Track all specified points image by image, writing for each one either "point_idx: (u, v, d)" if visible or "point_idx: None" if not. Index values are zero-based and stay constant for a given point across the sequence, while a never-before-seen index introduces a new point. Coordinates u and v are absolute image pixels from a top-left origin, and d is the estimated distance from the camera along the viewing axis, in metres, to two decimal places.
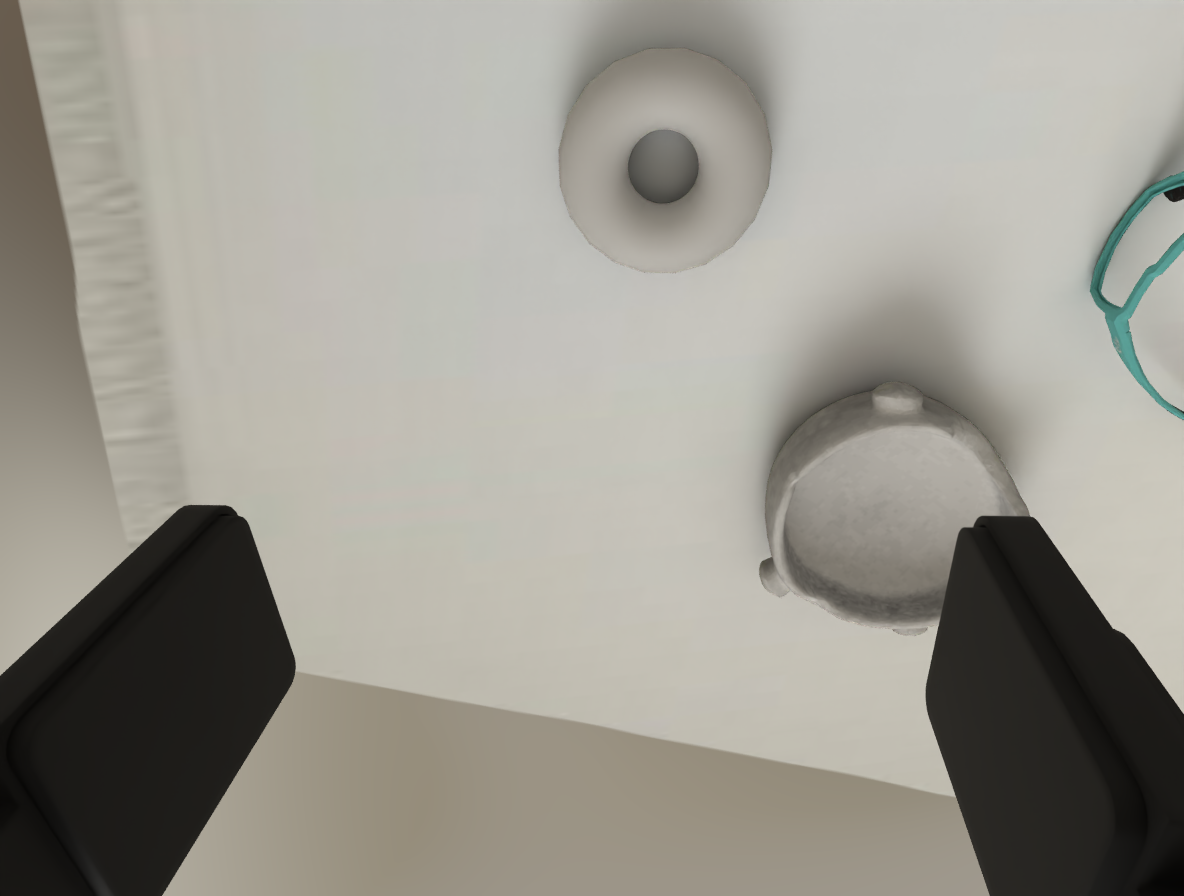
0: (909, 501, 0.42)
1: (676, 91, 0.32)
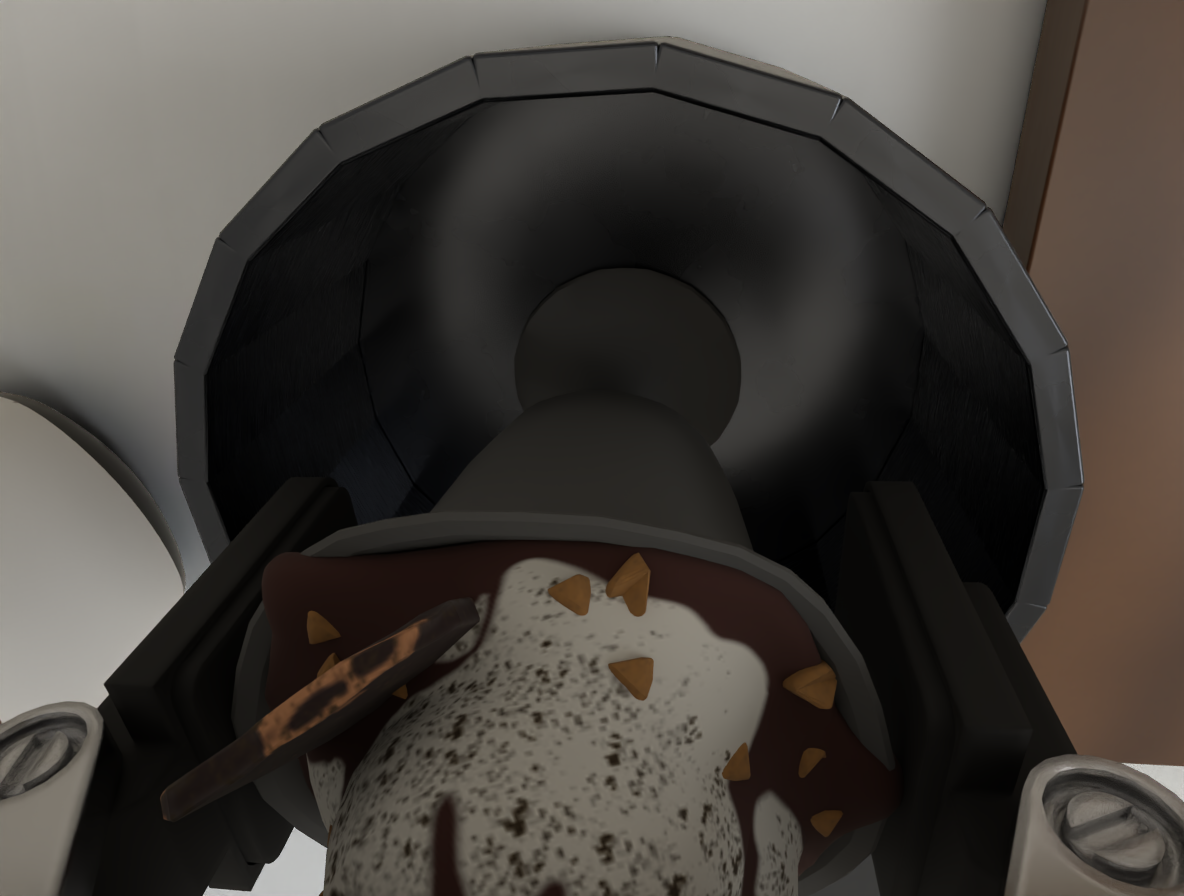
0: None
1: None
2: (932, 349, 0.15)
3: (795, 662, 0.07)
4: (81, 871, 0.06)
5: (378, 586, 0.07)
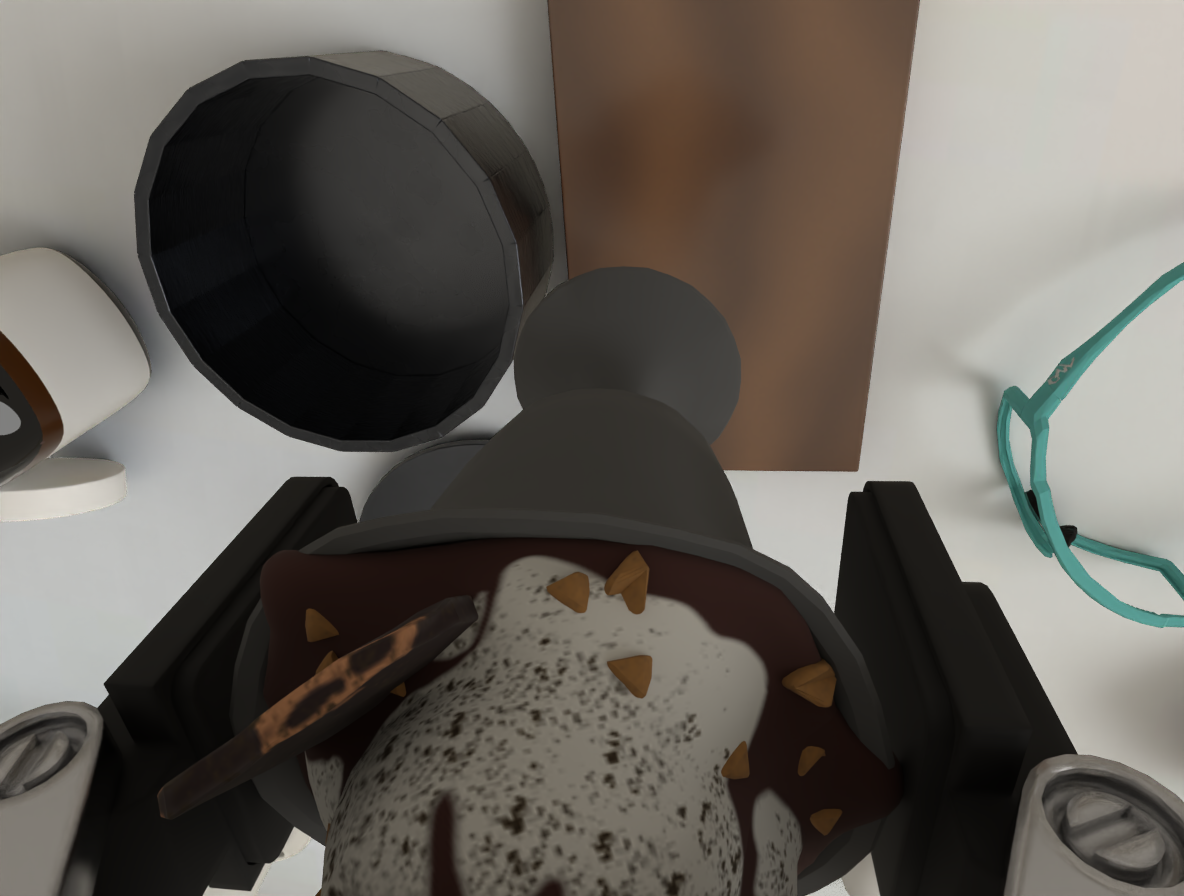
0: None
1: (876, 883, 0.41)
2: None
3: (794, 660, 0.07)
4: (81, 871, 0.06)
5: (376, 584, 0.07)
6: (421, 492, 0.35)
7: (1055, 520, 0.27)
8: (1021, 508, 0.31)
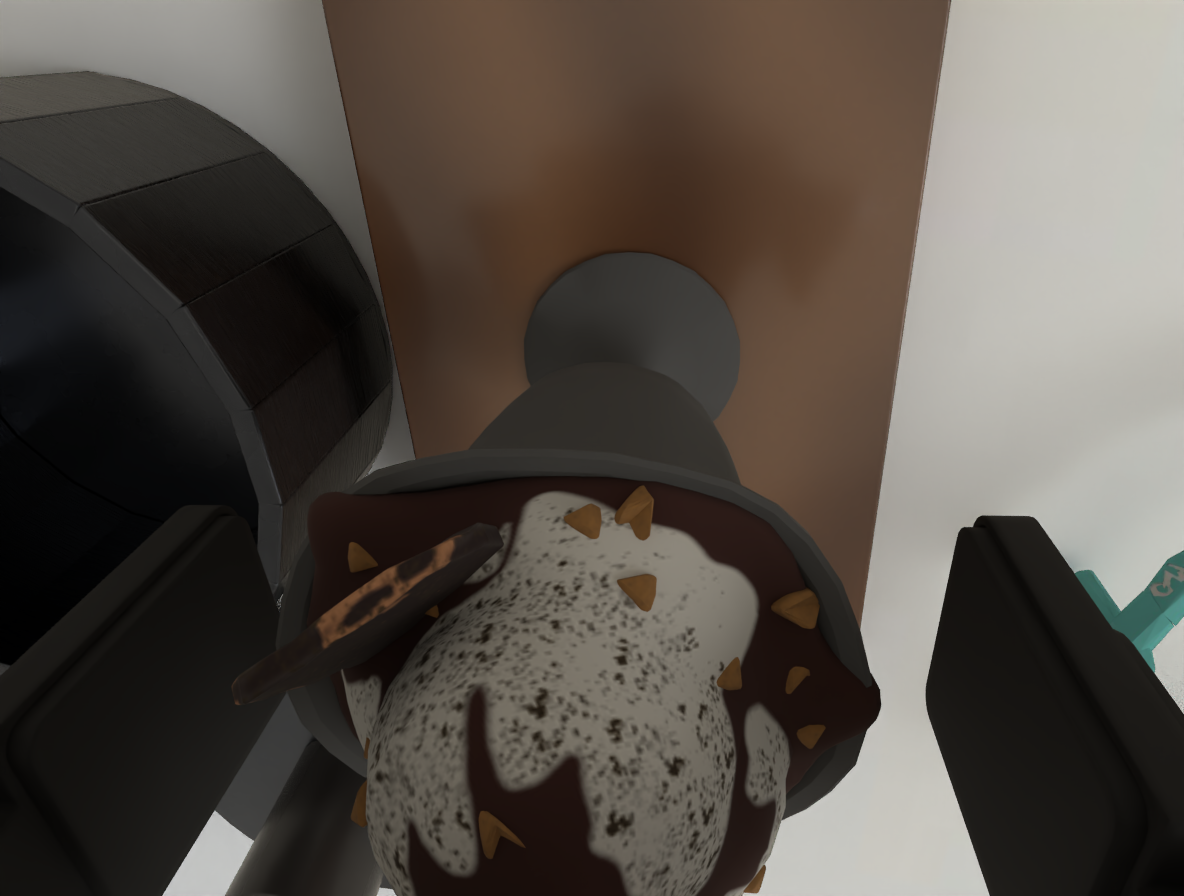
0: None
1: None
2: None
3: (782, 587, 0.07)
4: None
5: (412, 519, 0.07)
6: None
7: None
8: None
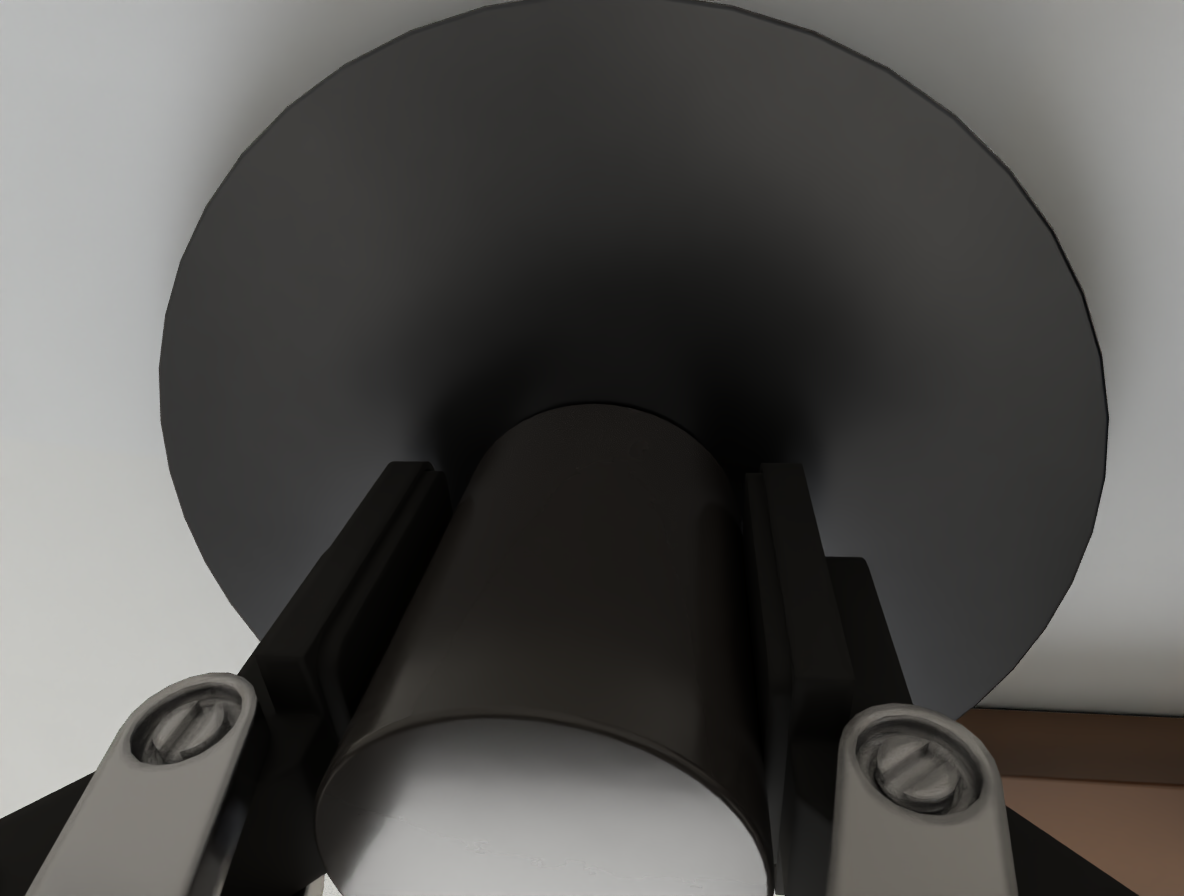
0: None
1: None
2: None
3: None
4: (219, 856, 0.06)
5: None
6: (936, 333, 0.09)
7: None
8: None
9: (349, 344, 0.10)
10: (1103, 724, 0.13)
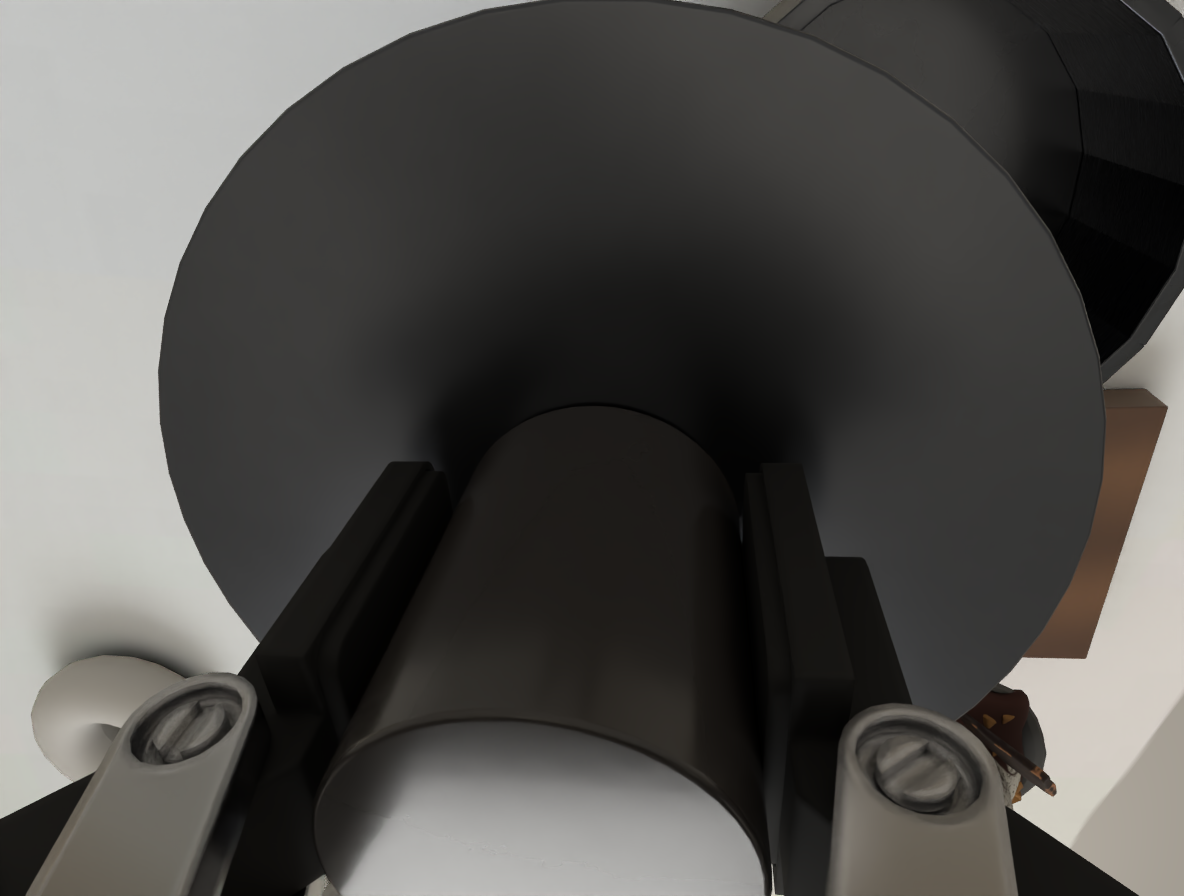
0: None
1: (97, 714, 0.37)
2: None
3: None
4: (217, 856, 0.06)
5: (1018, 732, 0.20)
6: (934, 335, 0.09)
7: None
8: None
9: (348, 346, 0.11)
10: None
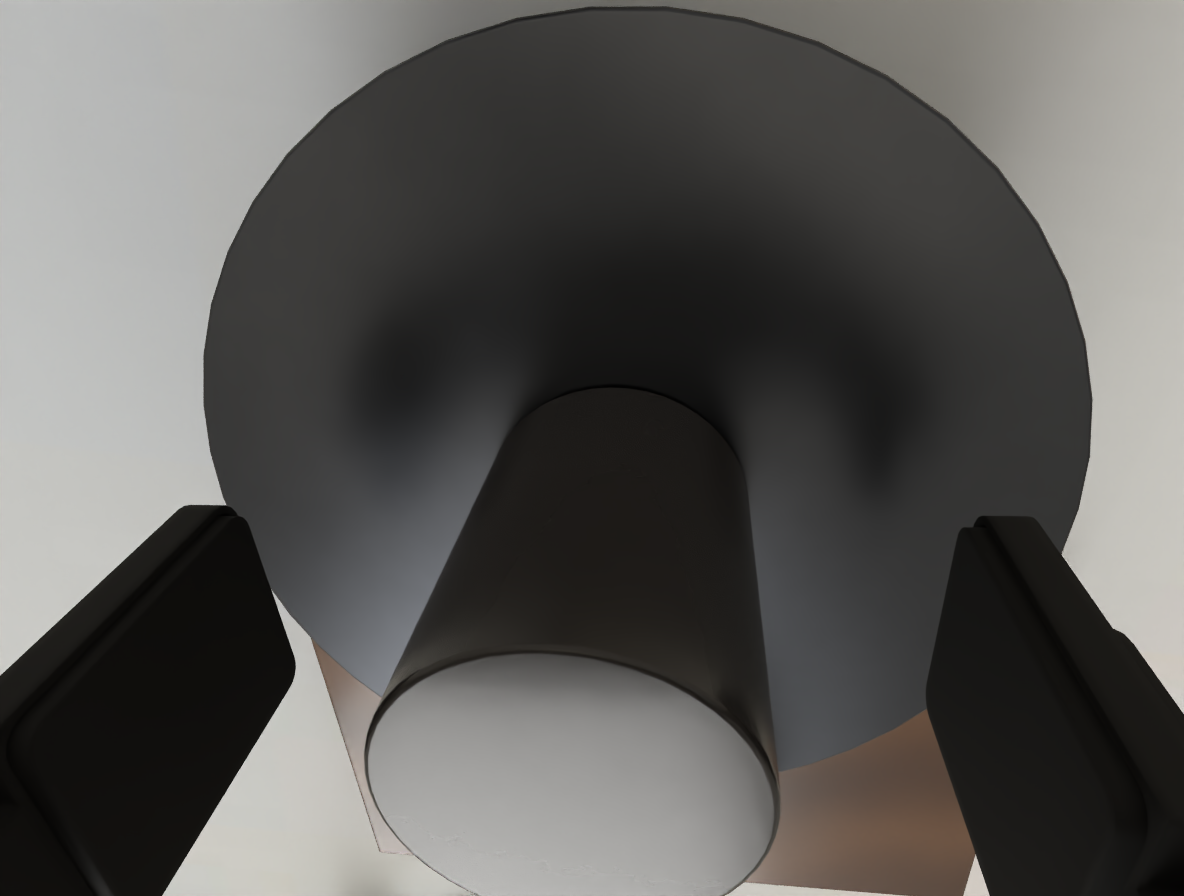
0: None
1: None
2: None
3: None
4: None
5: None
6: (930, 321, 0.10)
7: None
8: None
9: (383, 331, 0.11)
10: None
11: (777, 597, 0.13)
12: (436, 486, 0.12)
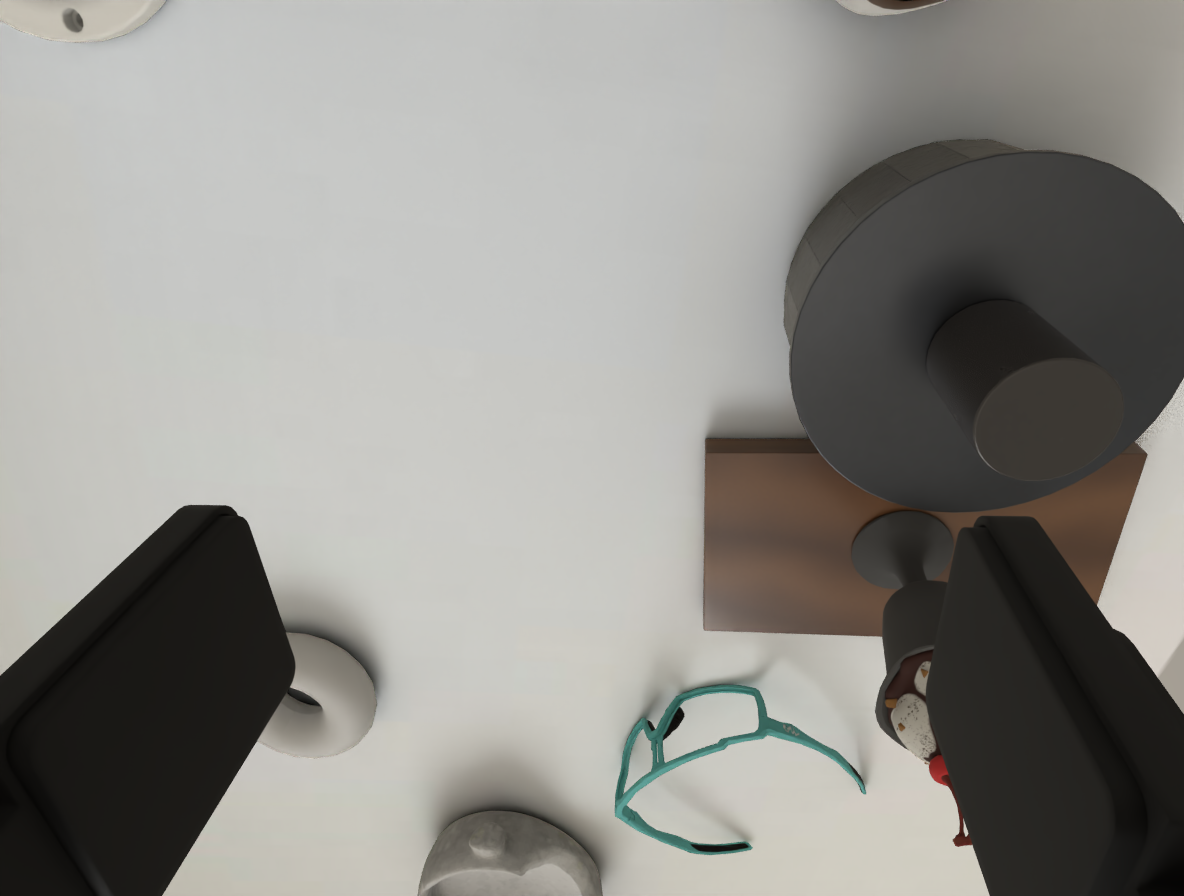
0: (533, 880, 0.56)
1: None
2: None
3: None
4: None
5: None
6: (1141, 269, 0.25)
7: (703, 755, 0.43)
8: (671, 709, 0.46)
9: (900, 276, 0.26)
10: (758, 440, 0.38)
11: None
12: (901, 348, 0.28)
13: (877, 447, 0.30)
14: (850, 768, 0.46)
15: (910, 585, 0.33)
